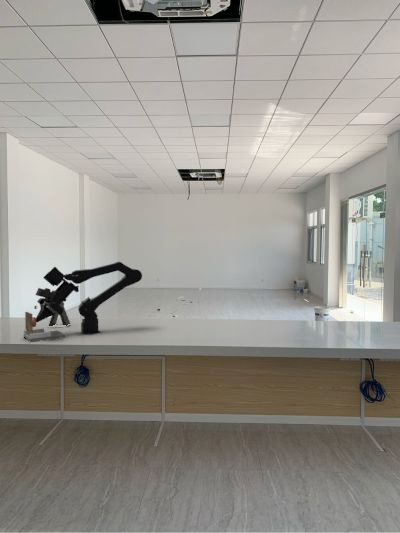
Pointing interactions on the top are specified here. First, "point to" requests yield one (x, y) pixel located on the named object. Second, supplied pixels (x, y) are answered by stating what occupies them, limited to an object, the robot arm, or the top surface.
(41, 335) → the press base
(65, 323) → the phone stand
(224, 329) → the top surface
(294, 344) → the top surface
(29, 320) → the press plate
